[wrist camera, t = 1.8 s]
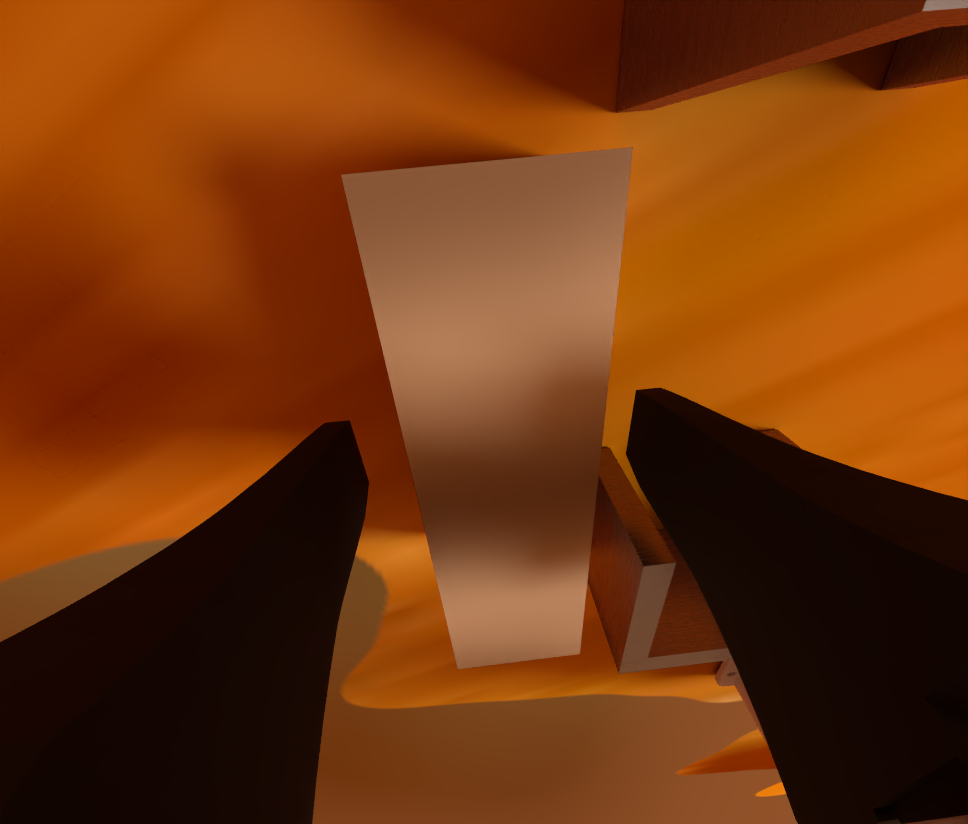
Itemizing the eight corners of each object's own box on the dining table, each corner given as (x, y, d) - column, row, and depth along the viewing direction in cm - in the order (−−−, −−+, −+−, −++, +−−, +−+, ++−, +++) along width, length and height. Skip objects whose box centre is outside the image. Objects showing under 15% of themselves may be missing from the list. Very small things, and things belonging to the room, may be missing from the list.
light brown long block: (543, 520, 15) (579, 654, 11) (455, 530, 15) (457, 669, 11) (544, 157, 9) (633, 147, 5) (392, 171, 9) (340, 174, 5)
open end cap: (734, 534, 16) (824, 648, 12) (577, 552, 16) (618, 673, 12) (777, 429, 13) (911, 535, 10) (586, 449, 13) (643, 566, 9)
